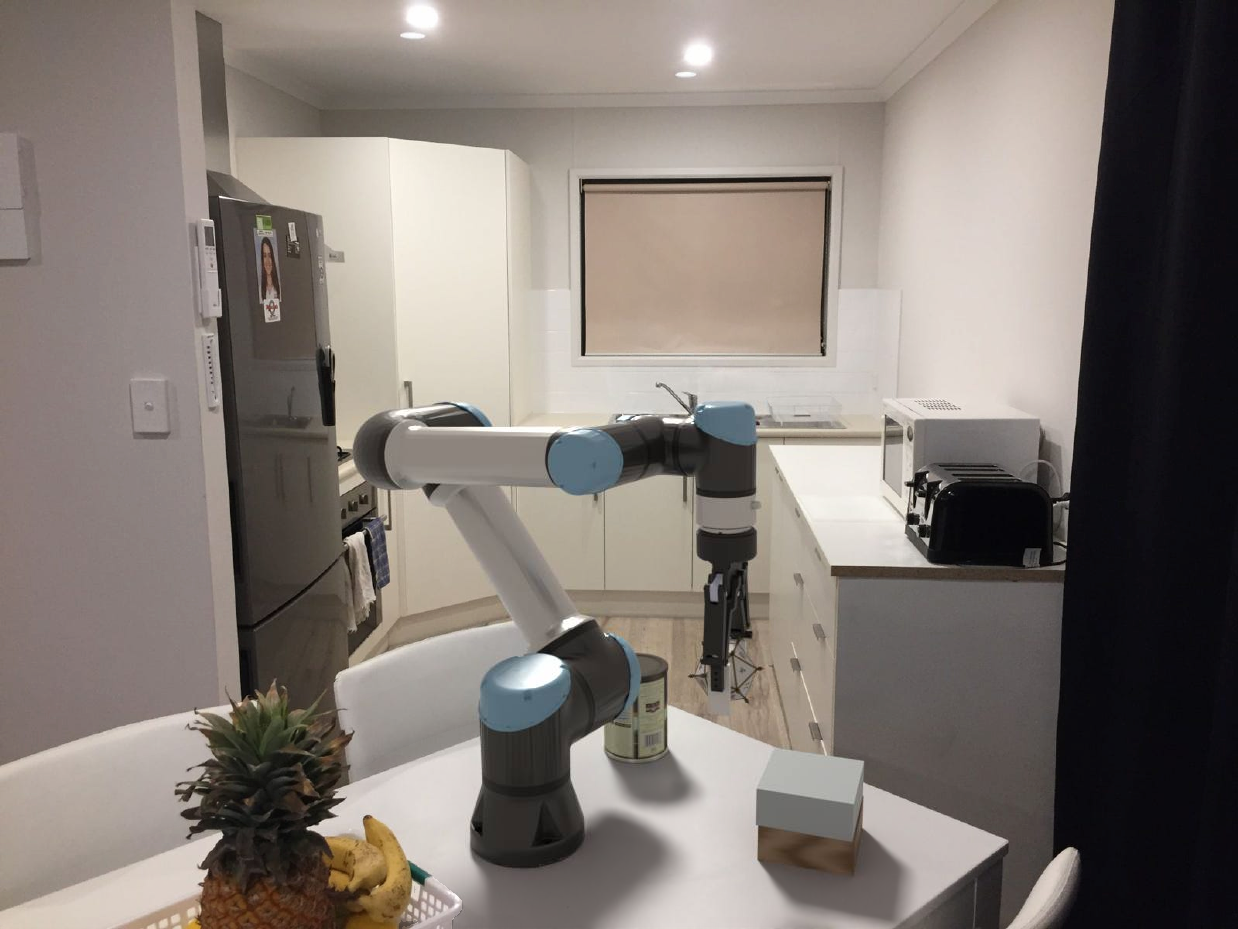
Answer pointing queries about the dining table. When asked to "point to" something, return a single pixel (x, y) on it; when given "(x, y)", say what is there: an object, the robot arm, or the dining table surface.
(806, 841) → the tower base
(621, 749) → the coffee can
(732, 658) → the game die
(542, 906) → the dining table surface
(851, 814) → the tower top
